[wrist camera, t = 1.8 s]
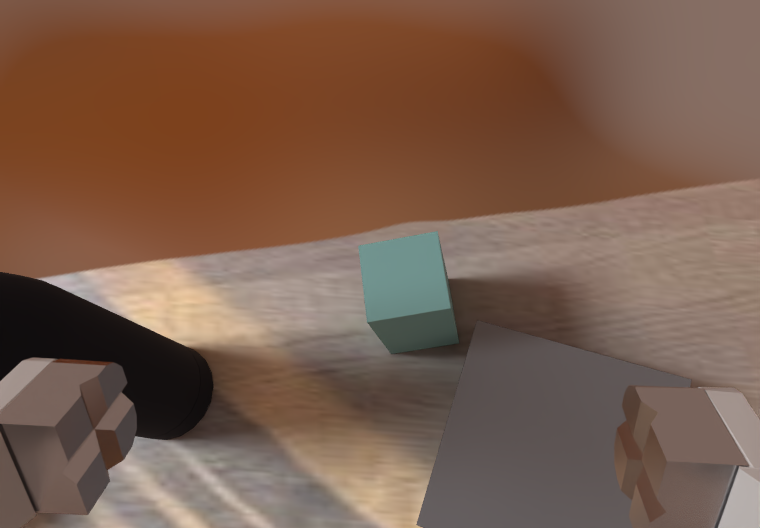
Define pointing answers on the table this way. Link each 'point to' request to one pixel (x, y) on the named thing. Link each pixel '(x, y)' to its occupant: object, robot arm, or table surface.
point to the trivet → (533, 436)
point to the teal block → (408, 293)
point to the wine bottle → (105, 352)
